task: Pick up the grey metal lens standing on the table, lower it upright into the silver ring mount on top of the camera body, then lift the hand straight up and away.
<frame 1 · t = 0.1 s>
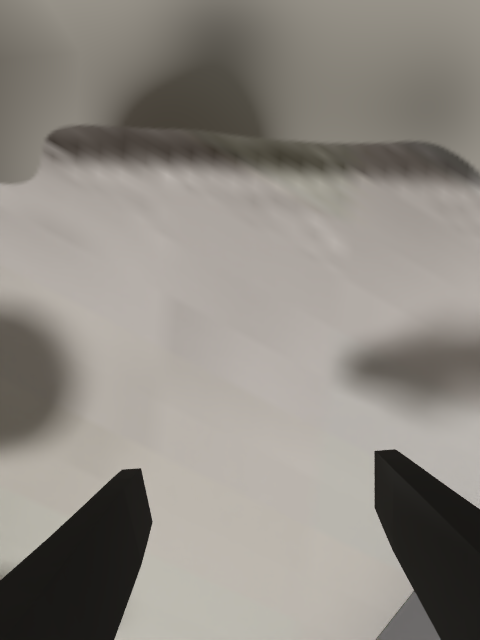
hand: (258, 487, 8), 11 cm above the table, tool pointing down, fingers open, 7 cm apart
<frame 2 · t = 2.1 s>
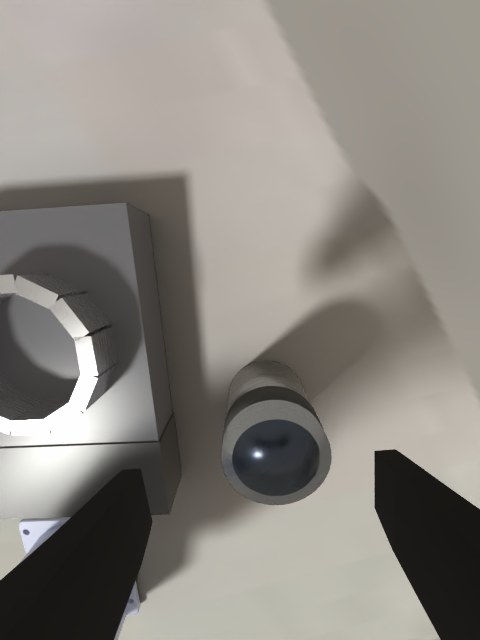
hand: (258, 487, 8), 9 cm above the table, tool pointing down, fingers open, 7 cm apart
lens: (265, 395, 18), on the table
camera body: (84, 362, 17), on the table
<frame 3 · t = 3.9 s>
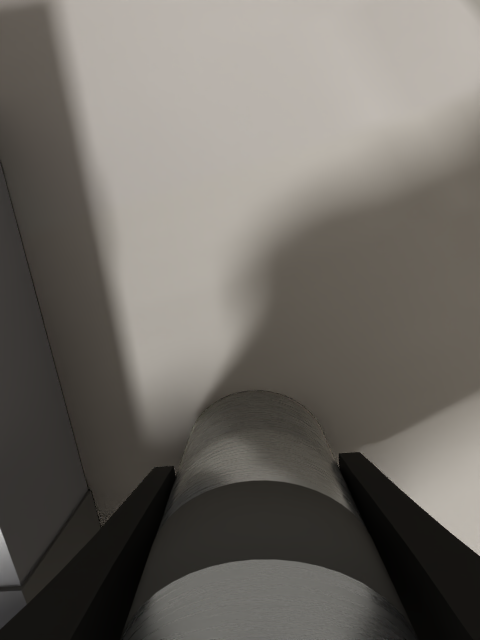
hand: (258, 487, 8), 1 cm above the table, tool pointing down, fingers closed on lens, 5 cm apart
lens: (256, 454, 9), on the table, touching gripper
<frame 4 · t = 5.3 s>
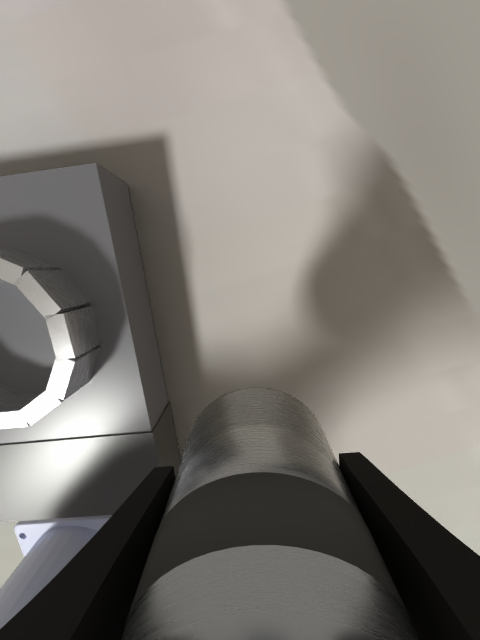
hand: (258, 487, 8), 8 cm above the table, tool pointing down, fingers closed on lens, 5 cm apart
lens: (256, 450, 10), point 7 cm above the table, touching gripper
camera body: (70, 351, 16), on the table
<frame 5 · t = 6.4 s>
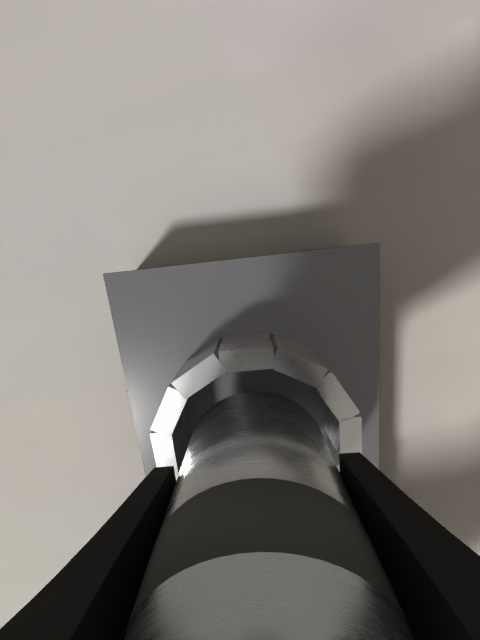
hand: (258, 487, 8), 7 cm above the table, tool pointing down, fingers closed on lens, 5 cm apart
lens: (256, 453, 10), point 5 cm above the table, touching gripper
camera body: (256, 418, 15), on the table
when the fingers open (6 cm above the table, at t = 7.2 s): lens stays where it is, resting on camera body.
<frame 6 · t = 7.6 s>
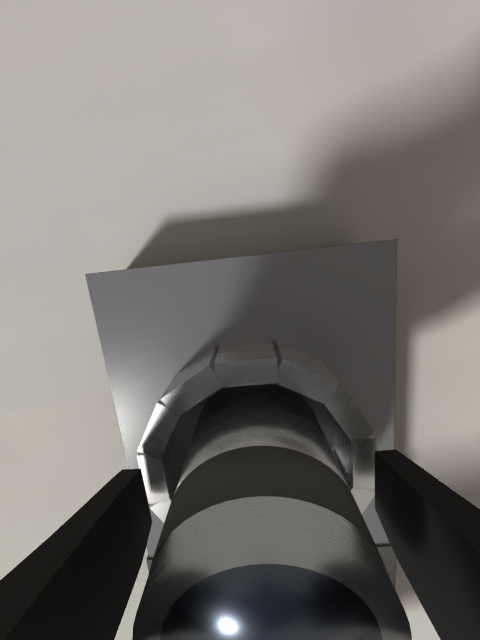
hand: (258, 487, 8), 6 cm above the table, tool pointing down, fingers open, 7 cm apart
lens: (257, 436, 11), point 3 cm above the table, touching camera body
camera body: (257, 431, 14), on the table
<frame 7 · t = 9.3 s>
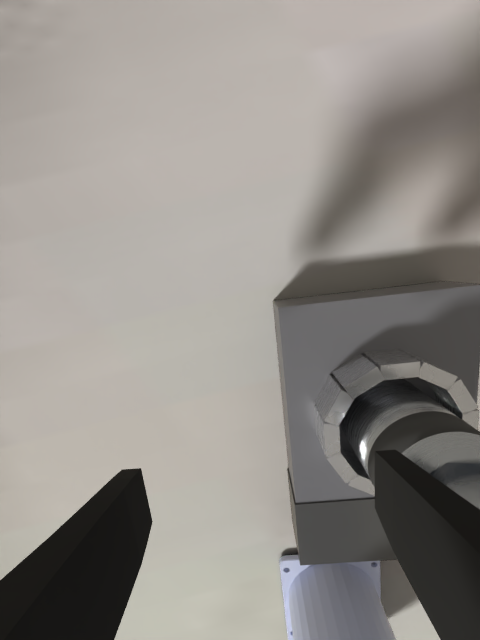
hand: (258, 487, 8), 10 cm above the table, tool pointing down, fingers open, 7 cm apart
lens: (381, 414, 16), point 3 cm above the table, touching camera body
camera body: (360, 414, 19), on the table
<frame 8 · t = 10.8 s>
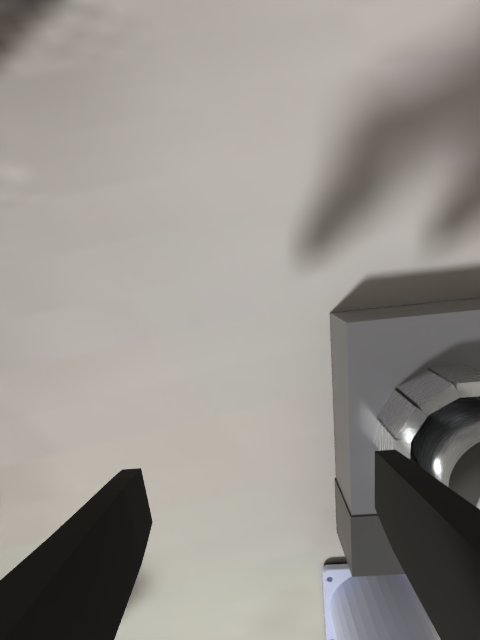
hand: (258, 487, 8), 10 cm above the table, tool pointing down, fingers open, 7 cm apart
lens: (443, 429, 16), point 3 cm above the table, touching camera body
camera body: (411, 426, 19), on the table
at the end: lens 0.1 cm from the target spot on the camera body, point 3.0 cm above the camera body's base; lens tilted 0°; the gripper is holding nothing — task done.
